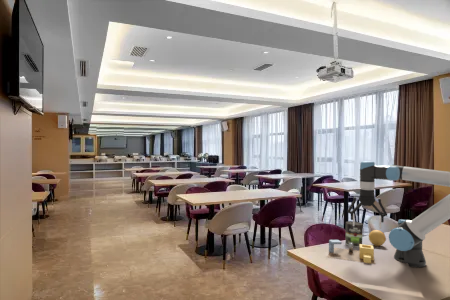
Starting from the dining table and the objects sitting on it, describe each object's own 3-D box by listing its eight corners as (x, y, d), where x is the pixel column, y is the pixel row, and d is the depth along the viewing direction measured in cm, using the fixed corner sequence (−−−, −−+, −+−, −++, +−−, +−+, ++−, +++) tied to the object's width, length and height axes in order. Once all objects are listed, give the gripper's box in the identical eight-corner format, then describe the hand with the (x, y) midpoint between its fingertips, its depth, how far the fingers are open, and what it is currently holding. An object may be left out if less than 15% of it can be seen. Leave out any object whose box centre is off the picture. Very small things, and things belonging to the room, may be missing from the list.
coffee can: (363, 247, 195) (364, 225, 195) (346, 246, 197) (346, 224, 197) (360, 243, 205) (361, 221, 205) (344, 241, 207) (344, 220, 207)
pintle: (353, 251, 183) (353, 242, 183) (353, 252, 181) (353, 244, 181) (348, 250, 184) (348, 242, 184) (348, 252, 182) (348, 243, 182)
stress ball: (373, 249, 196) (387, 241, 192) (363, 235, 201) (376, 227, 197) (377, 247, 203) (390, 240, 199) (367, 234, 208) (380, 226, 204)
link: (374, 263, 163) (374, 252, 163) (360, 261, 166) (360, 250, 166) (372, 256, 175) (372, 245, 175) (359, 254, 178) (359, 243, 178)
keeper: (338, 250, 184) (338, 239, 184) (341, 253, 180) (341, 242, 180) (328, 250, 184) (328, 239, 184) (331, 253, 179) (331, 242, 179)
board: (372, 254, 182) (372, 252, 182) (375, 266, 163) (375, 264, 163) (329, 249, 191) (329, 247, 191) (327, 260, 172) (327, 257, 172)
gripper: (391, 189, 172) (390, 227, 172) (343, 187, 181) (343, 223, 181) (393, 191, 165) (392, 230, 165) (343, 188, 174) (342, 226, 174)
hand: (366, 227), depth 173 cm, fingers open, 13 cm apart
